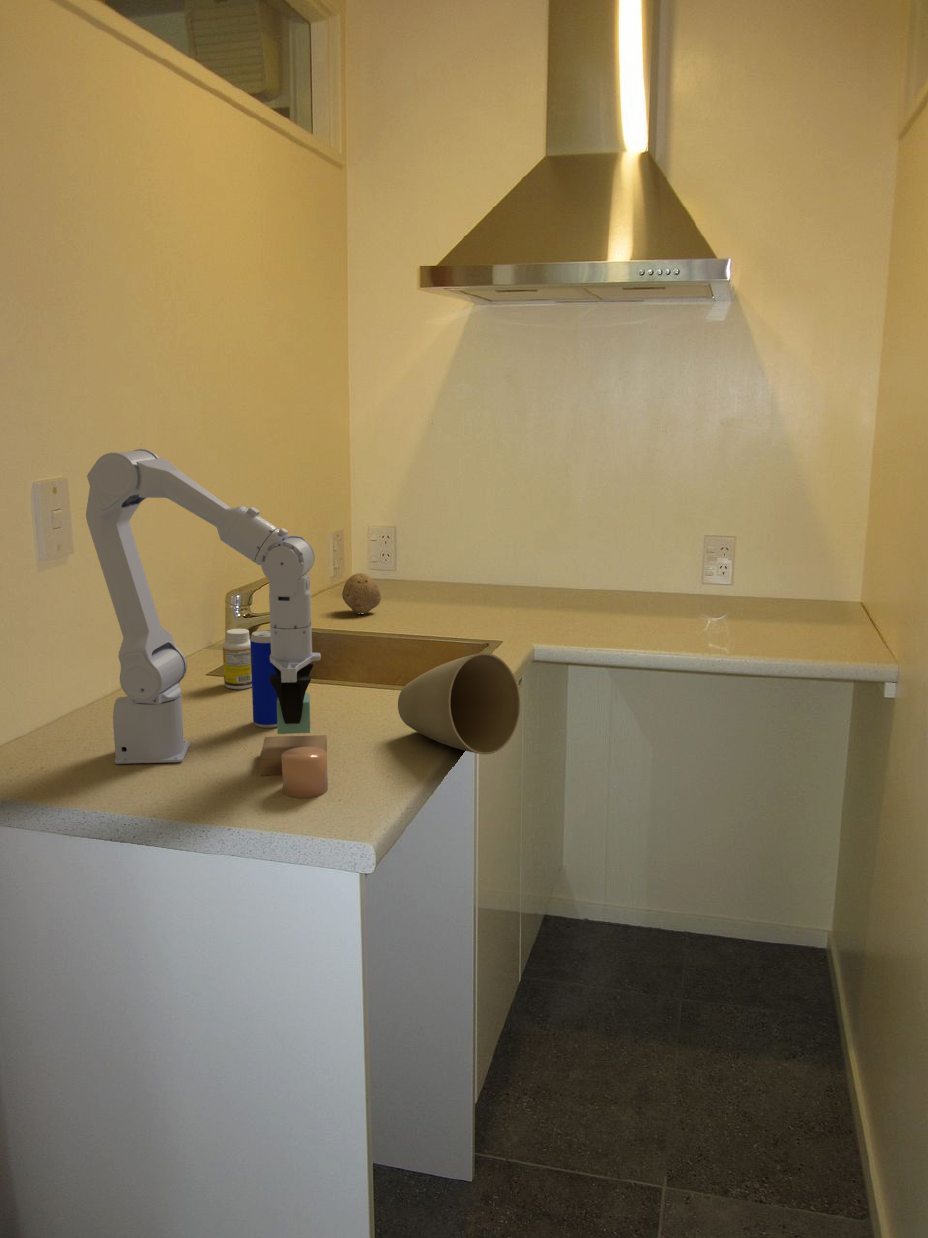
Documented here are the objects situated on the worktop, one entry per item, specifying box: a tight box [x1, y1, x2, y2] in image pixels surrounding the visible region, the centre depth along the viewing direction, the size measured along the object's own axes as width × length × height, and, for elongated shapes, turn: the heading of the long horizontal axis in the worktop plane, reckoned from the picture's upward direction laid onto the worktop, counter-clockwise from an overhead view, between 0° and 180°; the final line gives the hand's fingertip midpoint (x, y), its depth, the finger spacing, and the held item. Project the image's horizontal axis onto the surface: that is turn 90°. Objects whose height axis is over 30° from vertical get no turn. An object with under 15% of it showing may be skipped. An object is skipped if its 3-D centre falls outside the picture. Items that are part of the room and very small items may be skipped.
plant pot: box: [397, 652, 521, 755], centre depth 154 cm, size 15×15×16 cm
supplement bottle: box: [222, 628, 252, 690], centre depth 182 cm, size 6×6×10 cm
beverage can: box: [249, 629, 278, 729], centre depth 161 cm, size 5×5×15 cm
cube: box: [276, 692, 311, 735], centre depth 144 cm, size 4×4×4 cm
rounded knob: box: [281, 747, 329, 799], centre depth 136 cm, size 6×6×5 cm
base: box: [259, 734, 328, 776], centre depth 145 cm, size 9×9×2 cm
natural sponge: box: [341, 572, 382, 614], centre depth 241 cm, size 9×9×10 cm
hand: (293, 717), depth 144 cm, fingers closed on cube, 5 cm apart
